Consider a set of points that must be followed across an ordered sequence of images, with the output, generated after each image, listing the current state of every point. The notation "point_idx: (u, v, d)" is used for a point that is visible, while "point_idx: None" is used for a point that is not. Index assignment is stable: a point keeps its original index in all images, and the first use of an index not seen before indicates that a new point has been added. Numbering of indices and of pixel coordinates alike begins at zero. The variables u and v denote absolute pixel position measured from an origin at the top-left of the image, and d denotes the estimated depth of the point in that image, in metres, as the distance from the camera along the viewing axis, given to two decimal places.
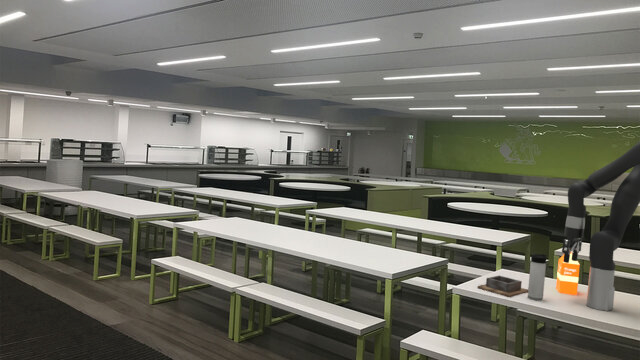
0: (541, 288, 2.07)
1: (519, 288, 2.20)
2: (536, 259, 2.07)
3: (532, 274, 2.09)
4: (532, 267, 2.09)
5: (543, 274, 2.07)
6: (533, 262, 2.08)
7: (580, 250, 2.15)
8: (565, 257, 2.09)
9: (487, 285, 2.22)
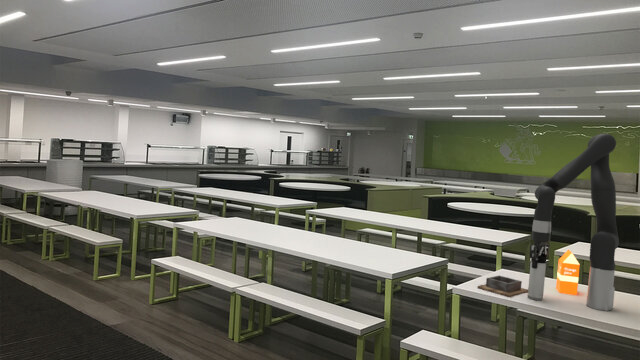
0: (541, 288, 2.07)
1: (519, 288, 2.20)
2: None
3: (532, 274, 2.09)
4: None
5: (543, 274, 2.07)
6: None
7: (547, 256, 2.12)
8: (533, 263, 2.07)
9: (487, 285, 2.22)
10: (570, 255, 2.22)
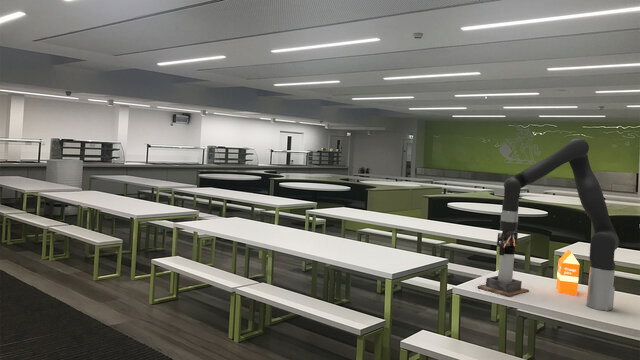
0: (509, 278, 2.19)
1: (519, 288, 2.20)
2: (505, 250, 2.19)
3: (501, 265, 2.20)
4: (501, 258, 2.20)
5: (511, 264, 2.18)
6: None
7: (516, 243, 2.23)
8: (500, 250, 2.17)
9: (487, 285, 2.22)
10: (570, 255, 2.22)
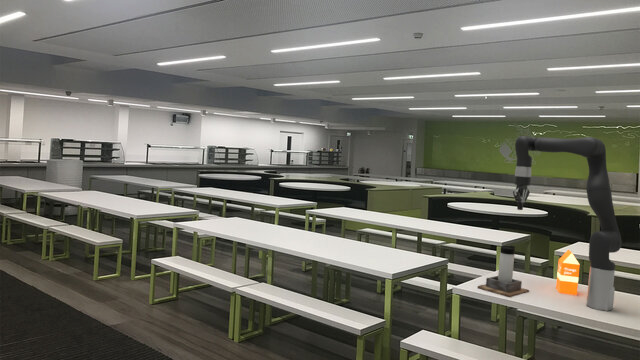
0: (509, 278, 2.19)
1: (519, 288, 2.20)
2: (505, 250, 2.19)
3: (501, 265, 2.20)
4: (501, 258, 2.20)
5: (511, 264, 2.18)
6: (502, 253, 2.20)
7: (525, 199, 2.38)
8: (518, 205, 2.37)
9: (487, 285, 2.22)
10: (570, 255, 2.22)
